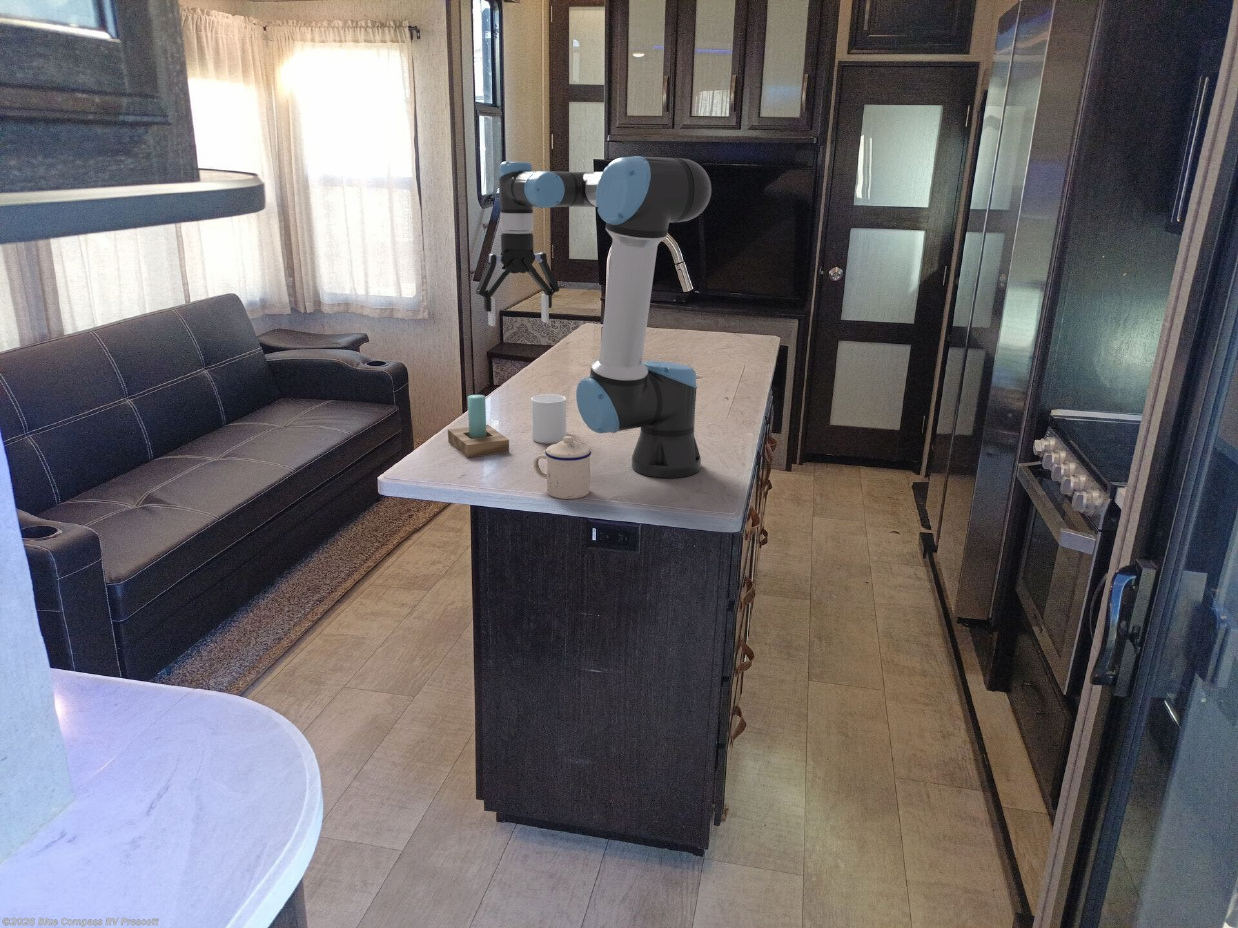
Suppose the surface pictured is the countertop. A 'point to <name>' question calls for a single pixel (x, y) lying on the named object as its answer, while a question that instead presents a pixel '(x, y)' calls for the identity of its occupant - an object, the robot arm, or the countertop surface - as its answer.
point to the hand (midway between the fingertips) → (518, 323)
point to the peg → (477, 416)
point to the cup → (548, 418)
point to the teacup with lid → (566, 469)
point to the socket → (478, 442)
